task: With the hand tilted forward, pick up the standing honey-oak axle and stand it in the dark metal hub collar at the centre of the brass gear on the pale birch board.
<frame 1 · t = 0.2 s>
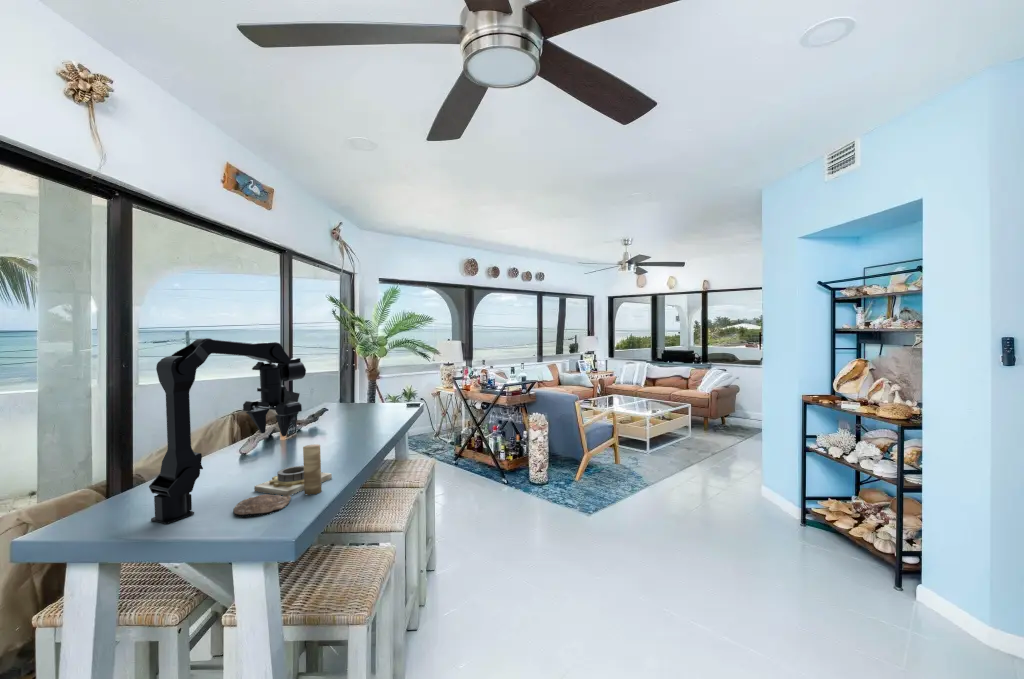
hand: (273, 434, 134), 14 cm above the table, tool pointing down, fingers open, 9 cm apart
oak axle: (313, 492, 125), on the table
gear board: (294, 484, 132), on the table
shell: (260, 510, 114), on the table
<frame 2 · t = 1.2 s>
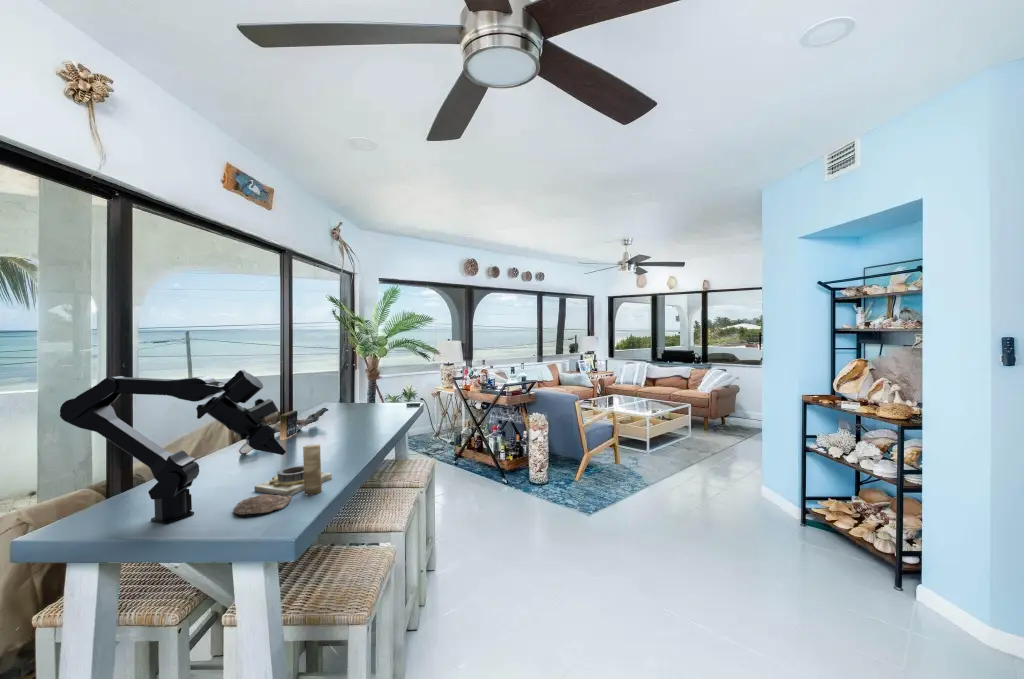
hand: (280, 450, 120), 13 cm above the table, tool tilted 45°, fingers open, 9 cm apart
nothing on the table moved.
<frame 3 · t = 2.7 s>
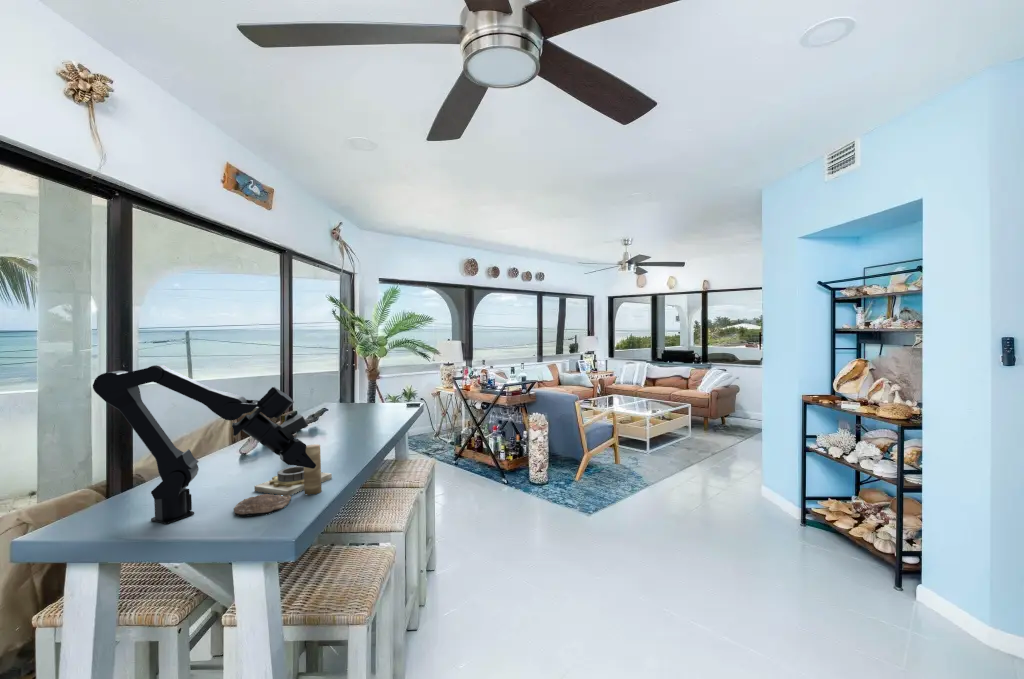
hand: (310, 463, 124), 8 cm above the table, tool tilted 45°, fingers open, 9 cm apart
nothing on the table moved.
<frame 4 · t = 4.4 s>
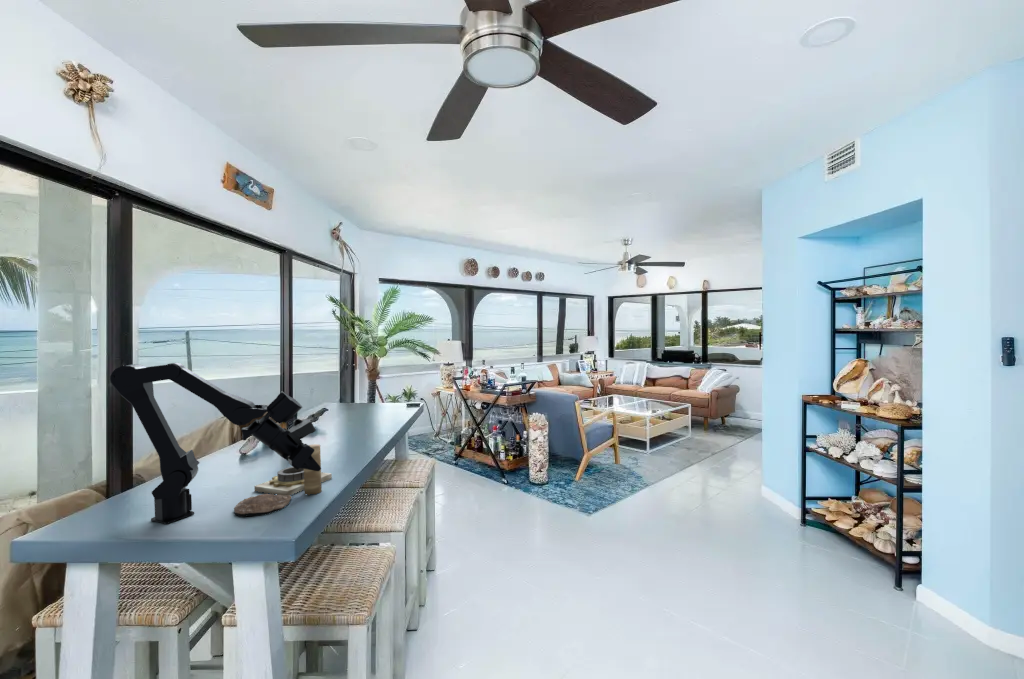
hand: (317, 467, 126), 7 cm above the table, tool tilted 45°, fingers closed on oak axle, 4 cm apart
oak axle: (313, 492, 125), on the table, touching gripper
everything else where it was.
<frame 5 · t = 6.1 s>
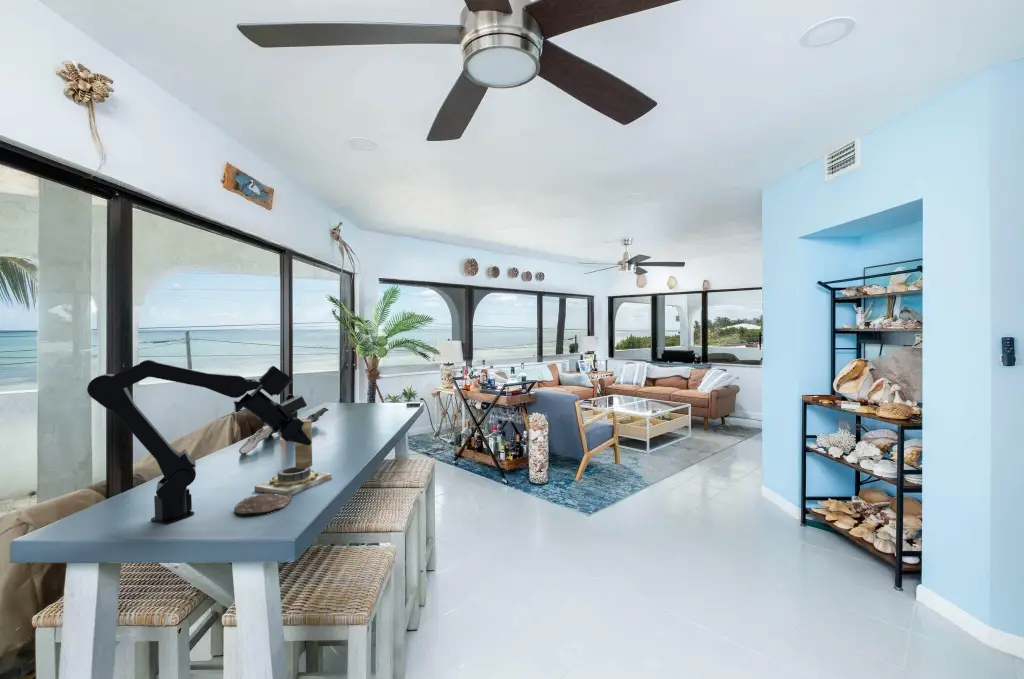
hand: (308, 442, 128), 13 cm above the table, tool tilted 45°, fingers closed on oak axle, 4 cm apart
oak axle: (303, 466, 127), point 7 cm above the table, touching gripper
everything else where it was.
when the fingers open (10 cm above the table, at t = 8.1 s): oak axle drops 1 cm, resting on gear board.
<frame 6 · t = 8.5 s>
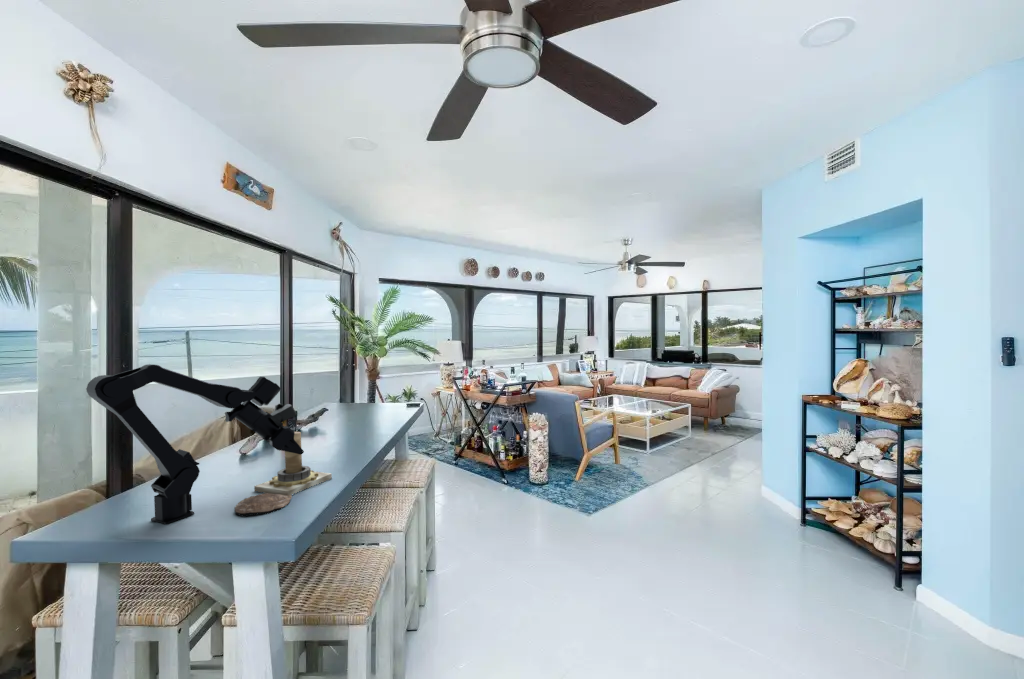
hand: (298, 450, 132), 10 cm above the table, tool tilted 45°, fingers open, 9 cm apart
oak axle: (294, 476, 132), point 2 cm above the table, touching gear board
everything else where it was.
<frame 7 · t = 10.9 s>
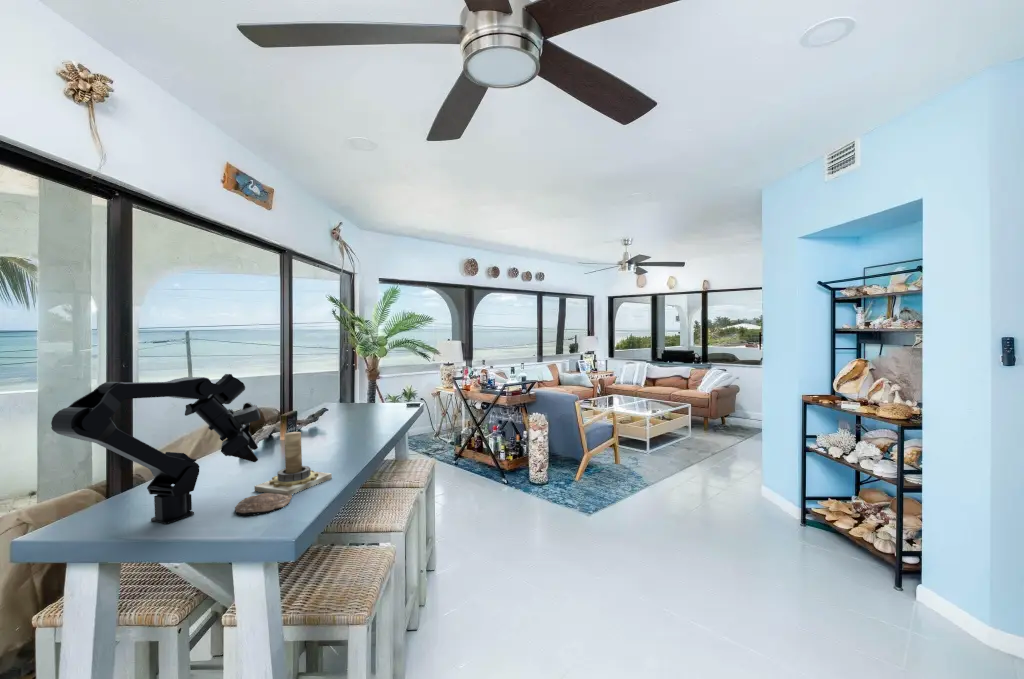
hand: (256, 454, 126), 11 cm above the table, tool tilted 35°, fingers open, 9 cm apart
nothing on the table moved.
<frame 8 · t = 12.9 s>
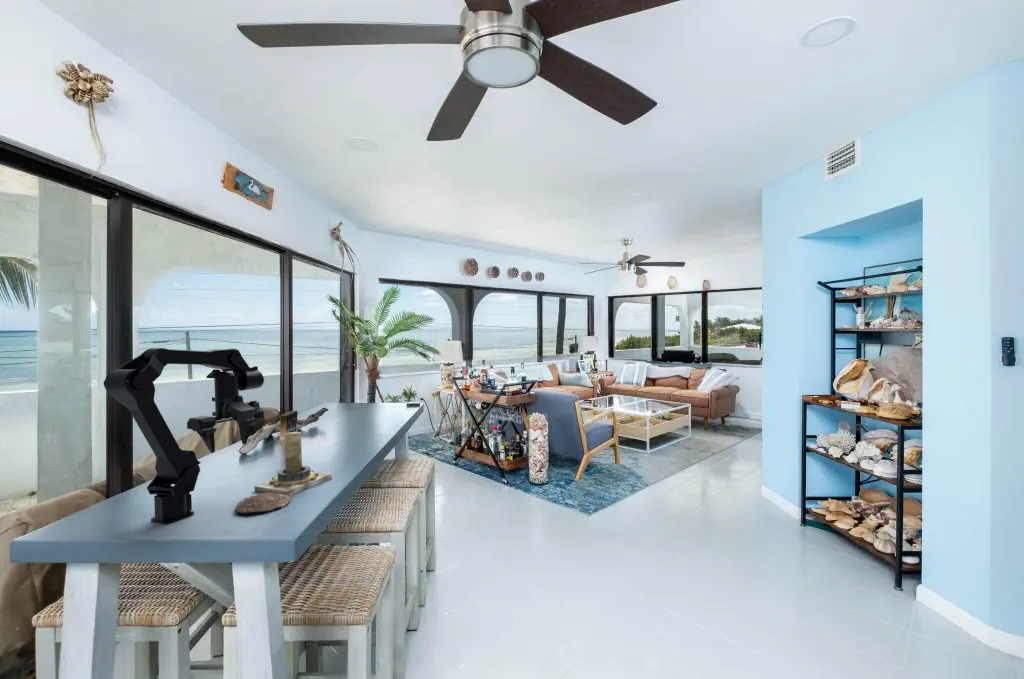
hand: (228, 448, 125), 13 cm above the table, tool pointing down, fingers open, 9 cm apart
at the end: oak axle 0.1 cm off-centre on the gear board, point 2.3 cm above the gear board's base; oak axle tilted 0°; the gripper is holding nothing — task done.
